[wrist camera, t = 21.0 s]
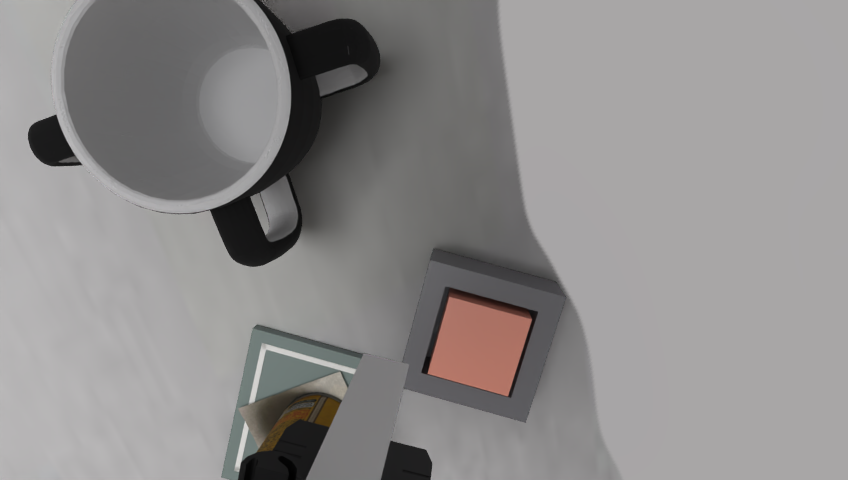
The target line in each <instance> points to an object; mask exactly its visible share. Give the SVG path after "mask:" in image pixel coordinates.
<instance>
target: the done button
mask: <svg viewBox="0 0 848 480" xmlns="http://www.w3.org/2000/svg"><path fill="white" fill-rule="evenodd" d="M531 321H532V318H531V316H530V313H529V310H528V309H527V308H523V307H520V306H516V305H512V304H509V303H505V302H501V301H498V300H494V299H490V298H487V297H483V296H479V295H476V294H472V293H469V292H465V291H461V290H458V289H454V288H450V289H449V293H448V296H447V300H446V303H445V307H444V311H443V314H442V318H441V321H440V325H439V328H438V332H437V336H436V339H435V343H434V346H433V350H432V353H431V357H430V363H429V369H428V374H430V375H433V376H437V377H440V378H444V379H447V380H451V381H455V382H458V383H462V384H465V385H469V386H472V387H476V388H480V389H483V390H487V391H490V392H494V393H497V394H501V395H505V396H508V395H509V391H510V388H511V385H512V382H513V379H514V375H515V372H516V369H517V366H518V363H519V360H520V356H521V353H522V350H523V347H524V344H525V340H526V337H527V334H528V331H529V328H530V324H531Z"/></svg>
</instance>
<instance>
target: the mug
mask: <svg viewBox="0 0 848 480" xmlns="http://www.w3.org/2000/svg"><path fill="white" fill-rule="evenodd" d="M379 67H380V53H379V50H378V47H377V45H376V43H375V41H374V39H373V37H372V36H371V35H370V34H369V32H368V31H367V30H366V29H365V28H364V27H363V26H362V25H361V24H360V23H358V22H357V21H355V20H352V19H336V20H332V21H328V22H325V23H322V24H319V25H316V26H314V27H311V28H308V29H305V30H302V31H299V32H296V33H293V34H291V33H290V31H289V30H288V29H287V28H286V27H285V25H284V24H283V23H282V22H281V21H280V20H279V19H278V18H277V17H276V16H275V15H274V14H273V13H272V12H271V11H270V10H269V9H268V8H267V7H266V6H265V5H264V4H263V3H262V2H261V1H259V0H76V1H75V3H74V4H73V5H72V7H71V8H70V10H69V12H68V13H67V15H66V17H65V19H64V21H63V23H62V25H61V28H60V30H59V33H58V36H57V39H56V42H55V46H54V51H53V56H52V65H51V88H52V96H53V102H54V107H55V111H56V115H54V116H51V117H48V118H46V119H43V120H41V121H38V122H36V123H34V124H33V125H32V126H31V127H30V129H29V132H28V140H29V144H30V148H31V150H32V151H33V153H34V155H35V156H36V157H37V158H38V159H39V160H40V161H41V162H43V163H44V164H47V165H50V166H77V165H83V166H84V167H85V168H86V169H87V171H88V172H89V173H90V174H91V175H92V176H93V177H94V178H95V179H96V180H98V181H99V182H100V183H101V184H102V185H103V186H105V187H106V188H107V189H109V190H110V191H111V192H113V193H114V194H116V195H118V196H119V197H121V198H123V199H125V200H126V201H128V202H131V203H133V204H135V205H137V206H140V207H143V208H146V209H150V210H153V211H157V212H161V213H171V214H195V213H199V212H204V211H208V210H210V211H211V214H212V216H213V219H214V221H215V224H216V226H217V228H218V231H219V233H220V235H221V238H222V240H223V242H224V245H225V247H226V249H227V251H228V253H229V255H230V256H231V257H232V259H233V260H235V261H236V262H238V263H240V264H242V265H246V266H251V267H256V266H261V265H265V264H267V263H269V262H271V261H273V260H275V259H276V258H278V257H280V256H282V255H283V254H284V253H285V252H287V251H288V250H289V249H291V248H292V247H293V246H294V245H295V243H296V242H297V240H298V238H299V236H300V233H301V228H302V213H301V209H300V206H299V203H298V199H297V196H296V193H295V190H294V188H293V185H292V182H291V179H290V176H289V174H288V173H289V172H290V171H291V170H292V169H293V168H294V167H295V166H296V165H298V164H299V162H300V161H301V160H302V158H303V157H304V156H305V155H306V153H307V152H308V151H309V149H310V147H311V145H312V144H313V142H314V140H315V137H316V135H317V132H318V129H319V124H320V119H321V106H322V104H321V98H324V97H327V96H331V95H334V94H337V93H340V92H343V91H345V90H348V89H351V88H354V87H357V86H359V85H362V84H364V83H366V82H368V81H369V80H371V79H372V78H373V77H374V76H375V75H376V73H377V72H378V70H379ZM257 193H260V196H261V199H262V201H263V204H264V207H265V210H266V213H267V216H268V221H269V230H268V234H267V235H266V236H265V233H264V231H263V229H262V227H261V224H260V221H259V219H258V216H257V214H256V211H255V209H254V206H253V203H252V201H251V198H250V196H253V195H255V194H257Z"/></svg>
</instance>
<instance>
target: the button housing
mask: <svg viewBox="0 0 848 480" xmlns="http://www.w3.org/2000/svg"><path fill="white" fill-rule="evenodd" d="M450 288H454V289H458V290H461V291H465V292H469V293H472V294H476V295H479V296H483V297H487V298H490V299H494V300H498V301H501V302H505V303H509V304H512V305H516V306H520V307H523V308H527V309H528V310H529V313H530V316H531V318H532V321H531V324H530V328H529V331H528V334H527V337H526V340H525V344H524V347H523V350H522V353H521V356H520V360H519V363H518V366H517V369H516V372H515V375H514V379H513V382H512V385H511V388H510V391H509V395H508V396H505V395H501V394H497V393H494V392H490V391H487V390H483V389H480V388H476V387H472V386H469V385H465V384H462V383H458V382H455V381H451V380H447V379H444V378H440V377H437V376H433V375H430V374H428V369H429V363H430V357H431V353H432V350H433V346H434V343H435V339H436V336H437V332H438V328H439V325H440V321H441V318H442V314H443V311H444V307H445V303H446V300H447V296H448V293H449V289H450ZM565 299H566V296H565V295H564V293H563V292H562V290H561V289H560V287H559V286H558V284H557V283H556V282H555V281H551V280H547V279H544V278H540V277H536V276H533V275H529V274H525V273H522V272H518V271H514V270H511V269H507V268H503V267H500V266H496V265H492V264H489V263H485V262H481V261H478V260H474V259H470V258H467V257H463V256H459V255H456V254H452V253H448V252H445V251H441V250H437V249H433V252H432V255H431V258H430V262H429V266H428V269H427V273H426V277H425V280H424V284H423V288H422V291H421V295H420V299H419V302H418V306H417V310H416V314H415V317H414V321H413V325H412V328H411V332H410V336H409V339H408V343H407V347H406V350H405V354H404V358H403V362H402V363H406V364H409V367H408V371H407V375H406V379H405V383H404V389H408V390H411V391H415V392H418V393H422V394H426V395H429V396H433V397H436V398H440V399H443V400H447V401H450V402H454V403H458V404H461V405H465V406H468V407H472V408H475V409H479V410H482V411H486V412H490V413H493V414H497V415H500V416H504V417H507V418H511V419H514V420H518V421H522V422H525V423H526V420H527V417H528V414H529V411H530V407H531V404H532V401H533V398H534V395H535V392H536V389H537V386H538V383H539V380H540V377H541V373H542V370H543V367H544V364H545V361H546V358H547V355H548V352H549V349H550V346H551V343H552V339H553V336H554V333H555V330H556V327H557V324H558V321H559V318H560V315H561V312H562V309H563V305H564V302H565Z"/></svg>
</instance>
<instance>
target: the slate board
mask: <svg viewBox="0 0 848 480" xmlns="http://www.w3.org/2000/svg"><path fill="white" fill-rule="evenodd" d="M362 356H363V354H359V353H356V352H352V351H349V350H345V349H342V348H338V347H334V346H331V345H327V344H324V343H320V342H317V341H313V340H309V339H306V338H302V337H299V336H295V335H292V334H288V333H284V332H281V331H277V330H274V329H270V328H267V327H263V326H259V325H256V326H255V327H254V328H253V330H252V335H251V340H250V345H249V349H248V354H247V359H246V363H245V368H244V373H243V377H242V382H241V387H240V391H239V396H238V401H237V406H236V410H235V415H234V420H233V424H232V429H231V434H230V438H229V443H228V448H227V453H226V457H225V462H224V467H223V471H222V476H221V477H222V478H226V479H229V480H238V476H239V470H240V464H241V462H242V461H243V460H244V459H245V458H246V457H247V456H249V455H252V454H254V453H256V452H257V450H258V449H259V448H258V446H257V444H256V442H255V440H254V438H253V436H252V434H251V432H250V430H249V428H248V426H247V424H246V422H245V420H244V418H243V417H242V415H241V413H240V411H239V409H238V408H241V407H244V406H247V405H250V404H252V403H255V402H257V401H260V400H262V399H265V398H268V397H271V396H273V395H277V394H280V393H282V392H284V391H287V390H290V389H292V388H295V387H298V386H300V385H303V384H306V383H308V382H312V381H315V380H317V379H320V378H323V377H326V376H328V375H331V374H334V373H337V372H341V374H342V377H343V379H344V381H345V384H346V386H347V388H348V387H349V384H350V382H351V380H352V378H353V376H354V374H355V371H356V369H357V367H358V365H359V363H360V361H361V358H362Z"/></svg>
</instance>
